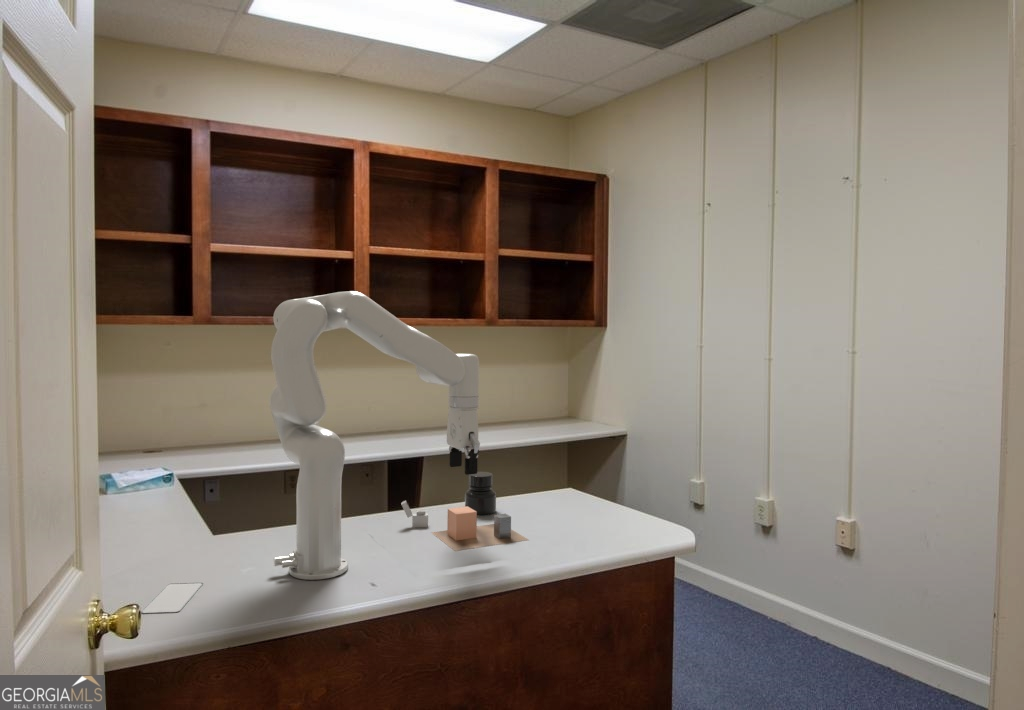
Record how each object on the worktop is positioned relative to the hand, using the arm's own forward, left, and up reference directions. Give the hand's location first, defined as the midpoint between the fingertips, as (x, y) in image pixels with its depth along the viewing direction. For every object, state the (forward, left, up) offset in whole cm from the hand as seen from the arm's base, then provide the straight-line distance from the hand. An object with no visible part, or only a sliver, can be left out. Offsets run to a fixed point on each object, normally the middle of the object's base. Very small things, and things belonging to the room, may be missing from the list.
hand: (463, 470), depth 175 cm
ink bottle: (+14, +19, -18) cm, 30 cm away
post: (+9, -5, -17) cm, 20 cm away
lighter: (-8, +13, -18) cm, 24 cm away
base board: (+4, -2, -18) cm, 19 cm away
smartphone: (-66, -9, -19) cm, 69 cm away
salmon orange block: (0, 0, -17) cm, 17 cm away
